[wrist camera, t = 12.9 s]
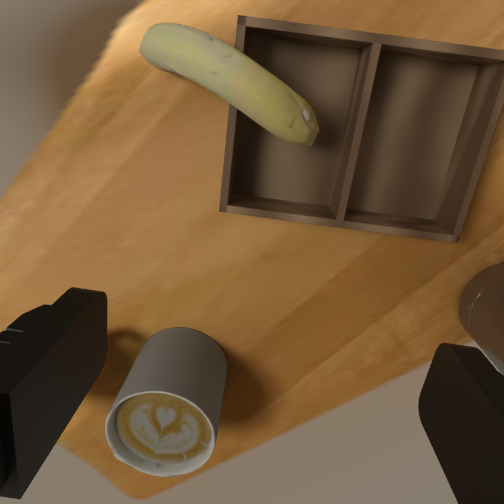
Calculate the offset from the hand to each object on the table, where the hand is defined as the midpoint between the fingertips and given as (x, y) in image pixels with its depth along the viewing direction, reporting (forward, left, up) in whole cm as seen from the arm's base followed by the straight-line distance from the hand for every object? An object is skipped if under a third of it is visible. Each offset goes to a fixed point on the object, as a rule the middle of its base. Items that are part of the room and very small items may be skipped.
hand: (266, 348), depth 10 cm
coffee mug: (+8, +24, -29) cm, 39 cm away
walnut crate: (-6, -4, -29) cm, 29 cm away
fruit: (-3, -4, -25) cm, 25 cm away
